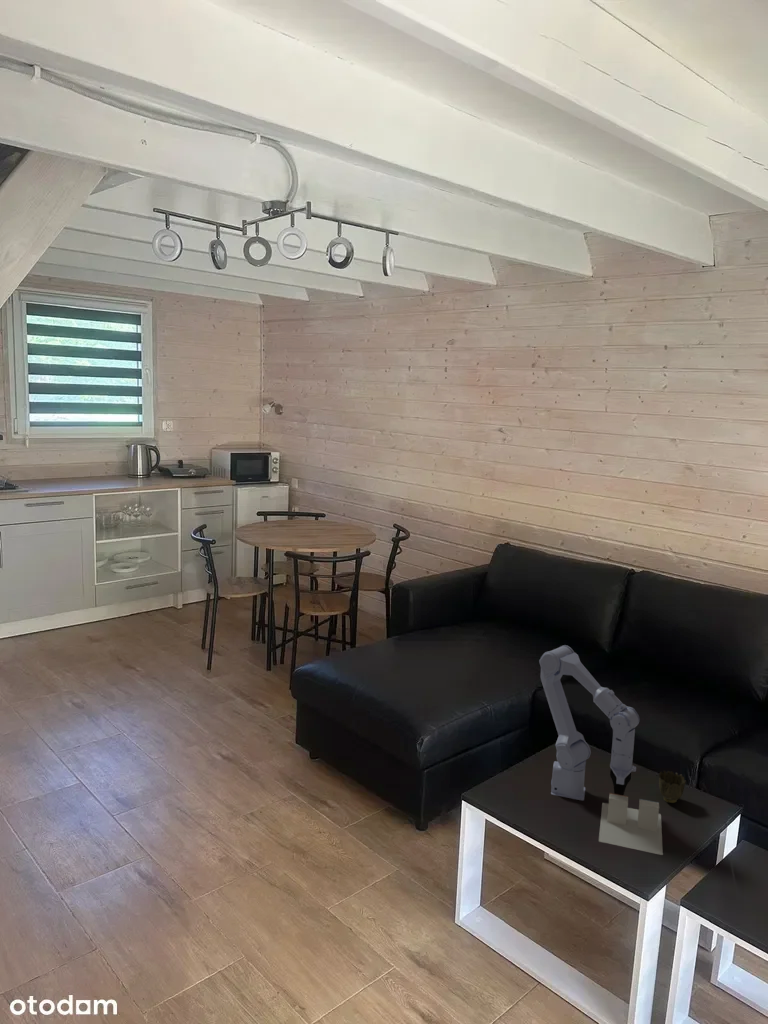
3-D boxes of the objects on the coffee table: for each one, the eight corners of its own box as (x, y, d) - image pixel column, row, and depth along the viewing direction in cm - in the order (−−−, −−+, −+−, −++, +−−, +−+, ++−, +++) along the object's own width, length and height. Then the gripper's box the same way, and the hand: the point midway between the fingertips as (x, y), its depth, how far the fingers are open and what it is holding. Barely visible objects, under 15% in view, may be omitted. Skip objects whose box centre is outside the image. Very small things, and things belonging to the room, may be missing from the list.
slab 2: (637, 827, 199) (639, 804, 198) (637, 821, 202) (639, 798, 201) (656, 831, 197) (659, 808, 196) (656, 825, 200) (658, 802, 199)
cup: (685, 810, 209) (688, 784, 208) (658, 807, 210) (661, 781, 209) (680, 796, 216) (683, 772, 215) (654, 793, 218) (657, 768, 216)
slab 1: (607, 821, 201) (609, 798, 200) (607, 815, 204) (609, 792, 203) (626, 825, 200) (628, 801, 199) (626, 819, 203) (628, 796, 202)
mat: (598, 843, 192) (598, 841, 192) (602, 804, 211) (602, 802, 211) (662, 857, 187) (662, 855, 187) (660, 816, 206) (660, 814, 206)
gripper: (637, 765, 195) (633, 811, 197) (637, 742, 209) (633, 785, 211) (610, 760, 197) (606, 806, 199) (611, 737, 211) (608, 781, 213)
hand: (618, 795), depth 205 cm, fingers closed
